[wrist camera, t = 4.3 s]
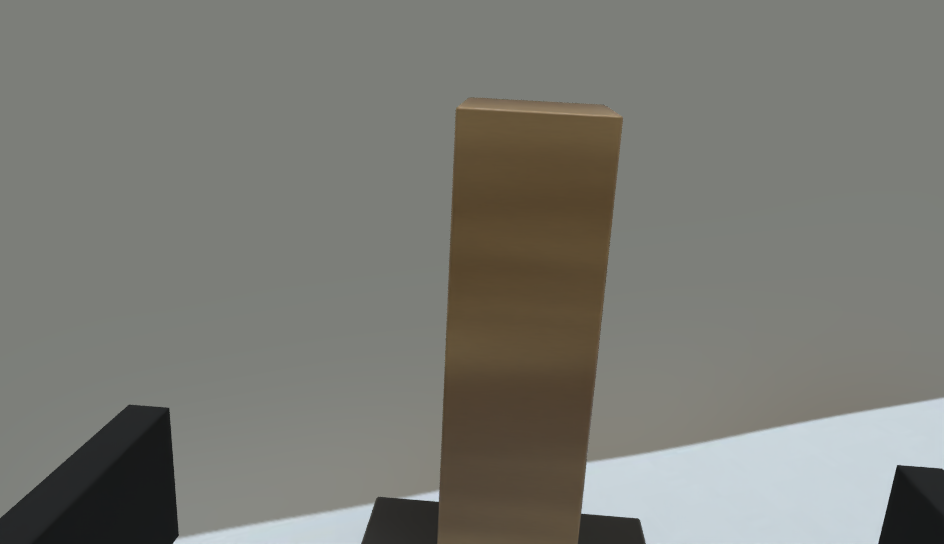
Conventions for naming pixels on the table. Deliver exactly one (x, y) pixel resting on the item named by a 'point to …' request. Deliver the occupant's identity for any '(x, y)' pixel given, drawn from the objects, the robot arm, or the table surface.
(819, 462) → the table surface
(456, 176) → the brush
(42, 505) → the robot arm
